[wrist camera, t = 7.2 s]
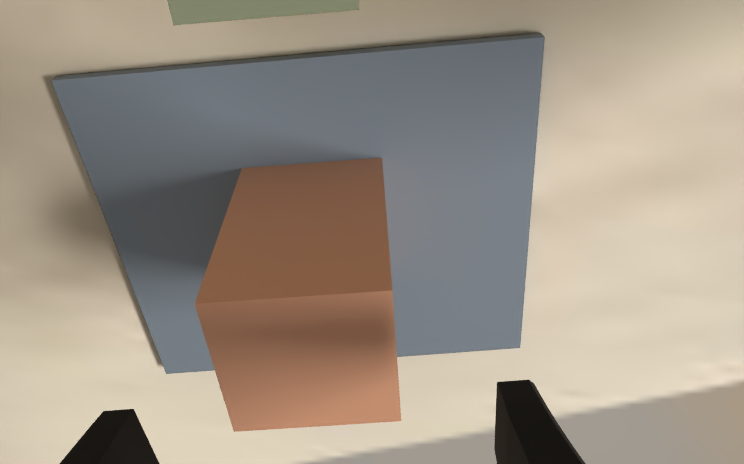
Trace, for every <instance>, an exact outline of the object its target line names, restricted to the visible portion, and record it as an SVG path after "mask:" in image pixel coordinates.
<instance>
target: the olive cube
mask: <svg viewBox="0 0 744 464" xmlns="http://www.w3.org/2000/svg"><path fill="white" fill-rule="evenodd" d="M167 1H168V5H169V9H170V13H171V17H172V20H173V24H174V25H181V24H193V23H205V22H218V21H230V20H242V19H254V18H266V17H278V16H290V15H303V14H315V13H327V12H339V11H351V10H359V0H167Z"/></svg>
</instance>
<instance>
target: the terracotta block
mask: <svg viewBox="0 0 744 464" xmlns="http://www.w3.org/2000/svg"><path fill="white" fill-rule="evenodd" d="M195 307H196V311H197V314H198V317H199V320H200V324H201V327H202V330H203V333H204V336H205V340H206V343H207V346H208V349H209V353H210V356H211V359H212V362H213V365H214V369H215V372H216V375H217V378H218V382H219V385H220V388H221V391H222V394H223V398H224V401H225V404H226V407H227V411H228V414H229V417H230V420H231V424H232V427H233V430H234V432H235V431H250V430H266V429H282V428H298V427H314V426H330V425H345V424H361V423H377V422H393V421H401V412H400V397H399V382H398V367H397V352H396V337H395V322H394V307H393V292H392V279H391V266H390V253H389V240H388V227H387V214H386V201H385V188H384V175H383V162H382V158H372V159H358V160H344V161H331V162H317V163H303V164H290V165H276V166H262V167H249V168H242V169H241V172H240V175H239V178H238V181H237V184H236V186H235V189H234V192H233V195H232V198H231V201H230V204H229V206H228V209H227V212H226V215H225V218H224V221H223V224H222V226H221V229H220V232H219V235H218V238H217V241H216V244H215V246H214V249H213V252H212V255H211V258H210V261H209V264H208V267H207V269H206V272H205V275H204V278H203V281H202V284H201V287H200V289H199V292H198V295H197V298H196V301H195Z"/></svg>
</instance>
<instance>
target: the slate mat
mask: <svg viewBox="0 0 744 464" xmlns="http://www.w3.org/2000/svg"><path fill="white" fill-rule="evenodd" d="M543 50H544V36H543V35H542V34H541V33H537V34H526V35H514V36H503V37H492V38H480V39H469V40H458V41H446V42H435V43H424V44H413V45H401V46H390V47H379V48H367V49H356V50H345V51H333V52H322V53H311V54H299V55H288V56H277V57H265V58H254V59H243V60H231V61H220V62H209V63H197V64H186V65H175V66H163V67H152V68H141V69H129V70H118V71H107V72H95V73H84V74H73V75H61V76H56V77H55V78H54V79H52V80H51V82H52V84H53V87H54V89H55V92H56V94H57V97H58V100H59V102H60V105H61V107H62V110H63V112H64V115H65V117H66V120H67V122H68V125H69V128H70V130H71V133H72V135H73V138H74V140H75V143H76V145H77V148H78V150H79V153H80V156H81V158H82V161H83V163H84V166H85V168H86V171H87V173H88V176H89V178H90V181H91V184H92V186H93V189H94V191H95V194H96V196H97V199H98V201H99V204H100V206H101V209H102V212H103V214H104V217H105V219H106V222H107V224H108V227H109V229H110V232H111V234H112V237H113V240H114V242H115V245H116V247H117V250H118V252H119V255H120V257H121V260H122V262H123V265H124V268H125V270H126V273H127V275H128V278H129V280H130V283H131V285H132V288H133V290H134V293H135V296H136V298H137V301H138V303H139V306H140V308H141V311H142V313H143V316H144V318H145V321H146V324H147V326H148V329H149V331H150V334H151V336H152V339H153V341H154V344H155V346H156V349H157V352H158V354H159V357H160V359H161V362H162V364H163V367H164V369H165V372H166V374H170V373H184V372H198V371H211V370H215V369H214V365H213V362H212V359H211V356H210V353H209V349H208V346H207V343H206V340H205V336H204V333H203V330H202V327H201V324H200V320H199V317H198V314H197V311H196V307H195V301H196V298H197V295H198V292H199V289H200V287H201V284H202V281H203V278H204V275H205V272H206V269H207V267H208V264H209V261H210V258H211V255H212V252H213V249H214V246H215V244H216V241H217V238H218V235H219V232H220V229H221V226H222V224H223V221H224V218H225V215H226V212H227V209H228V206H229V204H230V201H231V198H232V195H233V192H234V189H235V186H236V184H237V181H238V178H239V175H240V172H241V169H242V168H249V167H262V166H276V165H290V164H303V163H317V162H331V161H344V160H358V159H372V158H382V162H383V175H384V188H385V201H386V214H387V227H388V240H389V253H390V266H391V279H392V292H393V307H394V322H395V337H396V352H397V357H402V356H416V355H429V354H443V353H456V352H470V351H484V350H497V349H511V348H520V342H521V330H522V317H523V304H524V292H525V279H526V266H527V253H528V241H529V228H530V215H531V203H532V190H533V177H534V164H535V152H536V139H537V126H538V114H539V101H540V88H541V76H542V63H543Z"/></svg>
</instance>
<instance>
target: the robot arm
mask: <svg viewBox="0 0 744 464" xmlns="http://www.w3.org/2000/svg"><path fill="white" fill-rule="evenodd" d="M495 454H496V459H497V464H585V463H584V461H583V460H582V458H581V457H580V456H579V454H578V453H577V451H576V450H575V449H574V447H573V446H572V444H571V443H570V441H569V440H568V438H567V437H566V435H565V434H564V432H563V431H562V429H561V428H560V426H559V425H558V423H557V422H556V420H555V418H554V417H553V415H552V414H551V412H550V410H549V409H548V407H547V406H546V404H545V402H544V400H543V399H542V397H541V395H540V394H539V392H538V390H537V388H536V386H535V385H534V383H532V382H531V381H530V380H519V381H506V382H497V399H496V424H495ZM60 464H159V462H158V460H157V458H156V456H155V454H154V451H153V449H152V447H151V445H150V443H149V441H148V439H147V437H146V435H145V432H144V430H143V428H142V426H141V424H140V422H139V420H138V418H137V415H136V413H135V411H134V409H127V410H114V411H103V413H102V414H101V415H100V416H99V417H98V418H97V420H96V421H95V422H94V423H93V424H92V425H91V427H90V428H89V429H88V430H87V431H86V433H85V434H84V435H83V436H82V437H81V439H80V440H79V441H78V442H77V443H76V445H75V446H74V447H73V448H72V449H71V451H70V452H69V453H68V454H67V455H66V457H65V458H64V459H63V460H62V462H61V463H60Z"/></svg>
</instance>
